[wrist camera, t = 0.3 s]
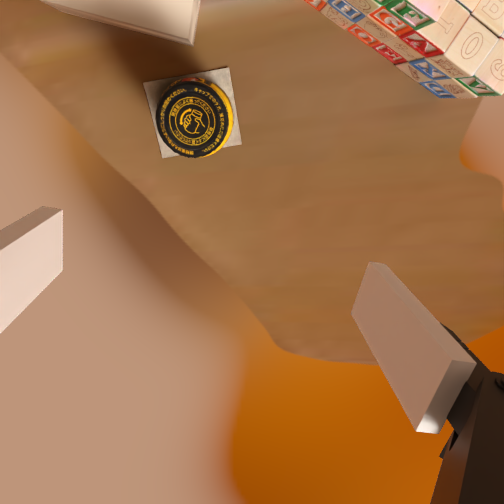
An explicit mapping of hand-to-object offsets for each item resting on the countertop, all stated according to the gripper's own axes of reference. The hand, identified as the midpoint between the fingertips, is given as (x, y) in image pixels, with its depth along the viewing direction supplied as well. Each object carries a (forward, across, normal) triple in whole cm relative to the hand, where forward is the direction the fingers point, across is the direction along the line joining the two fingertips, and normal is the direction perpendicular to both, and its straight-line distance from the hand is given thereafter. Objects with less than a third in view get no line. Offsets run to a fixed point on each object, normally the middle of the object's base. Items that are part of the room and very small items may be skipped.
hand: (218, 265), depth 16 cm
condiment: (+26, -4, +4) cm, 26 cm away
